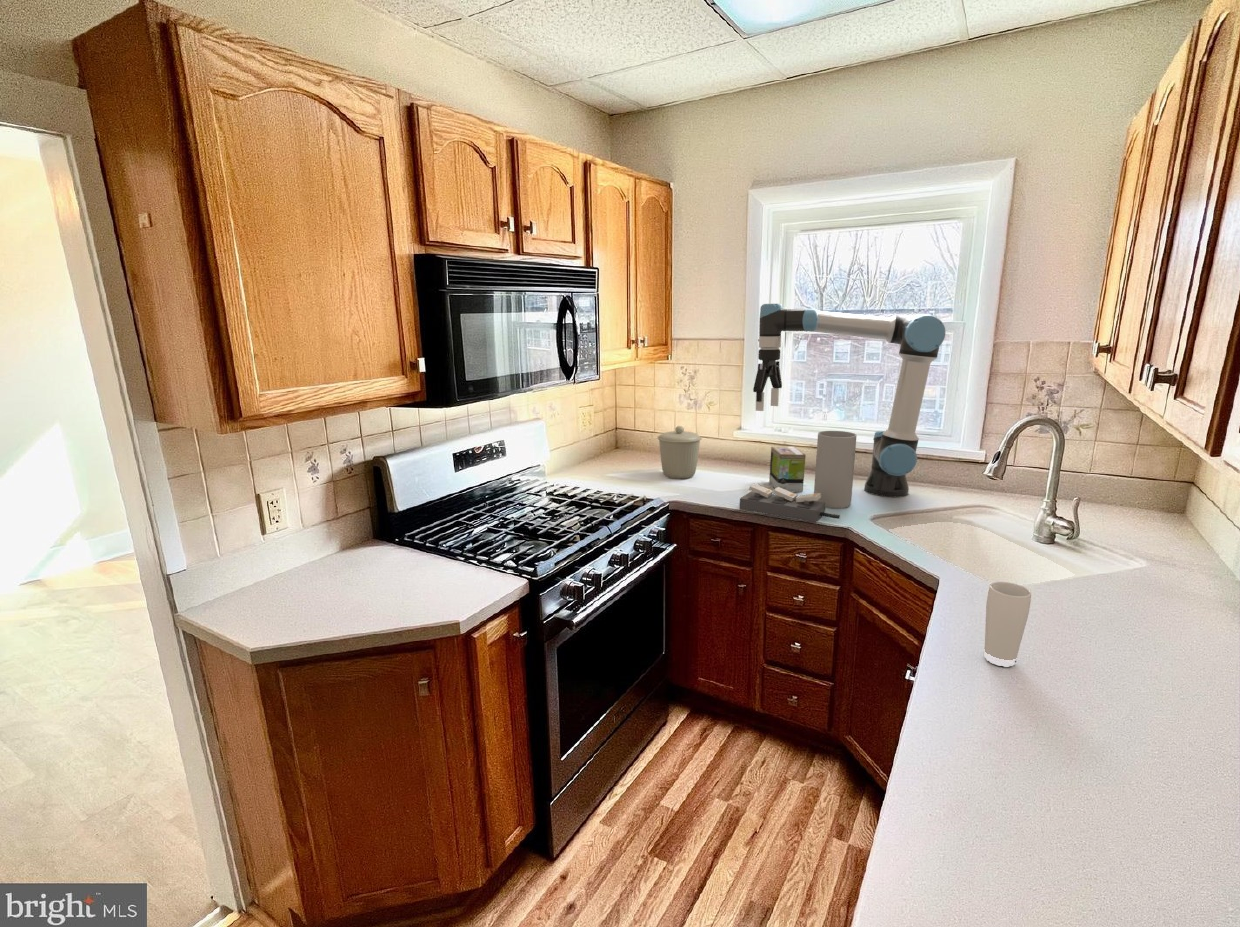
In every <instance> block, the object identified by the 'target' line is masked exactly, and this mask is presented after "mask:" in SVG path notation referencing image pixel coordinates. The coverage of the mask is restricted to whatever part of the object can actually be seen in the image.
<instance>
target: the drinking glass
mask: <svg viewBox="0 0 1240 927" xmlns="http://www.w3.org/2000/svg"><path fill="white" fill-rule="evenodd" d="M1031 601H1032V592H1031V590H1029V589H1028V588H1026V587H1024V586H1023V585H1019V584H1017V583H1014V582H1010V581H1009V582H1007V581H995V582H994V581H993V582H992V583H990V584H989V587H988V592H987V598H986V606H985V627H984V628H985V633H984V649H985V652H986V653H987V654H990V655H991V656H993V657H996V658H999V659H1004V660H1013V659H1016V658H1017V659H1018V654H1019V651H1020V650H1019V649H1020V647H1021V643H1022V640H1023V635H1024V632H1025V628H1026V624H1027V622H1028V617H1029V614H1030V608H1031V603H1032V602H1031Z"/></svg>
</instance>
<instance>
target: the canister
mask: <svg viewBox="0 0 1240 927" xmlns="http://www.w3.org/2000/svg"><path fill="white" fill-rule="evenodd" d="M674 429H675V431H674V430H673V431H666V432H663V433H661V434H660V435H658V436H657V438H656V439H657V440H659V441H658V442H659V445H658V446H659V450H660V451H659V452H660V453H659V454H660V462H661V467H662V468H661V469H662V473H663V475H664V476H665V477H667V478H669V479H677V480H682V479H683V480H684V479H690V478H692V477H694V475H695V473H696V471H697V466H698V458H699V452H700V451H699V450H700V443H701V440H702V439H703V437H702V436H700V435H699V434H698V433H696V432H691V431H686V430H685V427H683V426H682V425H677V426H676V427H675V428H674Z"/></svg>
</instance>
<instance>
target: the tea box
mask: <svg viewBox="0 0 1240 927" xmlns="http://www.w3.org/2000/svg"><path fill="white" fill-rule="evenodd" d="M806 455H807V454H806V453H804V452H803V451H802V450H801V449H799V448H798V447H796V446H771V447H770V464H769V477H768V478H769V481H768V482H769V483H770V485H772V486H773V487H774V489H776V488H777V487H780V488H782V489H785V490H787V491H790V492H792V493H802V492H803V491H804V481H805V471H806V458H807V456H806Z"/></svg>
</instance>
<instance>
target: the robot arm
mask: <svg viewBox="0 0 1240 927" xmlns="http://www.w3.org/2000/svg"><path fill="white" fill-rule="evenodd" d="M759 310H760V311H759V322H758V323H759V324H758V325H759V327H758V328H759V332H758V333H759V334H758V335H759V336H758V339H757V341H758V348H760V349H758V354H757V355H758V360H760V361H762V363H758V364H757V372H756V377H755V380H754V385H753V388H752V391H753V393H755V411H756V412H763V411H764V410H765V408H764V407H765V392H764V389H765V387H766V384H767V382H768V379H769V381H770V383H771V386H772V387H771V388H770V389H771V390H770V407H779V398H780V397H779V396H780V389H782V387H783V382H782V376H781V368H780V361H779V360H780V359H781V350H780V348H781V347H782V332H811V333H812V332H813V333H814V332H815V333H823V334H824V333H825V334H832V335H843V336H852V337H860V338H868V339H877V340H878V339H879V340H885V341H887V343H888V344H896V345H900V346H899V353H898V355H899V356H900V357H901V365H900V366H901V367H900V371H899V376H898V380H897V383H896V384H897V386H896V389H895V390H896V391H895V393H894V394H895V395H894V399H893V404H892V409H891V414H890V419H889V423H888V428H887V429H886V430H877V431H875V432H874V436H873V446H872V456H871V457H872V458H871V460H872V461H871V468H870V469H871V470H870V472H869V474H868V476H867V479H866V481H865V483H864V491H865V492H866V493H868V494H871V495H874V496H880V497H889V498H891V497H892V498H898V497H899V498H900V497H906V496H908V495H909V492H910V491H909V490H910V488H909V487H910V486H909V483H908V480H907V479H908V478H907V475H908V474H909V473H911V472H912V471H913V470H914V468H915V467H916V466H917V464H918V463H917V462H918V456H917V455H918V454H917V448H918V444H919V440H920V438H919V437H918V435H917V434H916V430H917V426H918V421H919V416H920V413H921V407H922V403H923V398H924V394H925V389H926V384H927V381H928V375H929V372H930V368H931V367H930V366H931V363H932V362H934V361H935V360H937V358H938V354H939V351H940V346H941V345H942V344H943V342H944V340H945V338H946V326H945V325H944V323H943V322H942V320H941V319H940V318H938V317H937V316H935V315H933V314H929V313H922V314H921V313H920V314H913V315H912V314H911V315H895V314H894V315H892V316H890V317H889V316H888V317H887V316H886V317H885V316H878V315H875V316H874V315H866V314H865V315H864V314H856V313H847V312H846V313H845V312H844V313H843V312H835V311H824V310H823V311H822V310H818V309H817V308H793V309H791V308H790V309H789V308H783V304H782V303H762V305H761V306H760V308H759Z"/></svg>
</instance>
